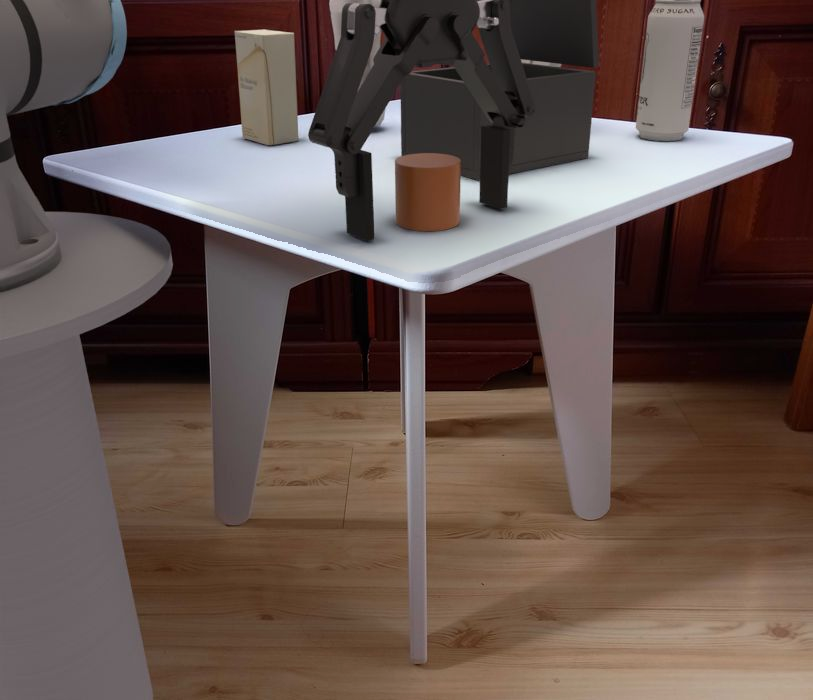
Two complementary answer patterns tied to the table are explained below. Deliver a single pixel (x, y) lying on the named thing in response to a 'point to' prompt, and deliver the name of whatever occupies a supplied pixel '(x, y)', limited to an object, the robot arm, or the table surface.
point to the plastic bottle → (336, 16)
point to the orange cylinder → (427, 191)
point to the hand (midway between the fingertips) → (430, 220)
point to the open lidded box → (463, 117)
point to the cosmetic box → (267, 86)
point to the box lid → (556, 31)
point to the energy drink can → (669, 69)
